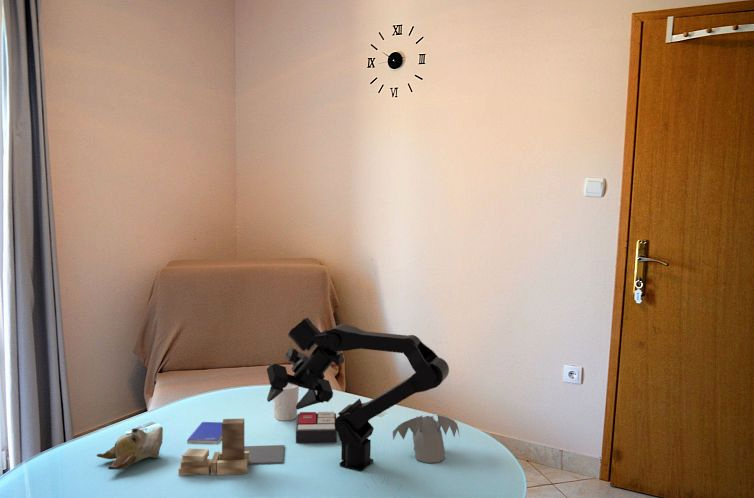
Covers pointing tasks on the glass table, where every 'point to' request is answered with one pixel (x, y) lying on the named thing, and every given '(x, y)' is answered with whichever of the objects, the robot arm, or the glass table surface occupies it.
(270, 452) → the charcoal mat
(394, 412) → the glass table surface
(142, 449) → the ceramic sculpture
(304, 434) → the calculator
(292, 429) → the glass table surface
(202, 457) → the offcut stack
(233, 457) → the walnut block
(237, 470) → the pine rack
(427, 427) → the figurine
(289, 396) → the white cup
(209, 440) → the hard drive
